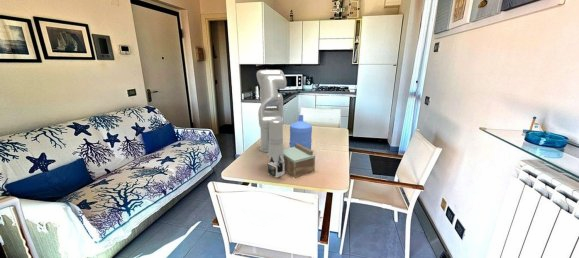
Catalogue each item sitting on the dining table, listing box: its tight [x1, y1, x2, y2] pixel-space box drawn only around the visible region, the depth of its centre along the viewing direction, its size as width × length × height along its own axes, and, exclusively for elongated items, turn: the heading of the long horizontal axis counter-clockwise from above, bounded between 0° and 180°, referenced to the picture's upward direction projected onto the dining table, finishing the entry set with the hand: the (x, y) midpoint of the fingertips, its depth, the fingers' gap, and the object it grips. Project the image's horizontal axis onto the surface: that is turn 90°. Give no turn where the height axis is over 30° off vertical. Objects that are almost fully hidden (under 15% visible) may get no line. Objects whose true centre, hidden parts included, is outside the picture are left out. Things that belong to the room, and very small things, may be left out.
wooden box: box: [283, 156, 316, 179], centre depth 146 cm, size 18×15×9 cm
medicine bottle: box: [267, 157, 285, 179], centre depth 139 cm, size 7×7×12 cm
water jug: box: [289, 114, 313, 150], centre depth 169 cm, size 16×16×28 cm
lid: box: [283, 143, 316, 163], centre depth 145 cm, size 18×15×4 cm
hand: (276, 168), depth 140 cm, fingers closed on medicine bottle, 8 cm apart
